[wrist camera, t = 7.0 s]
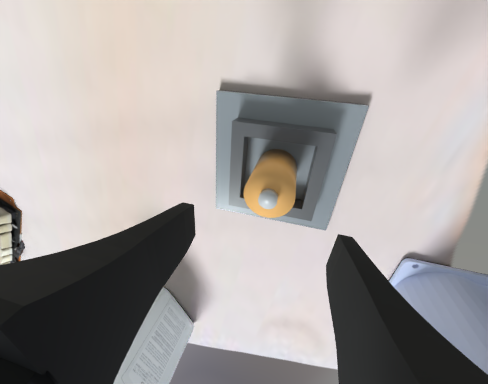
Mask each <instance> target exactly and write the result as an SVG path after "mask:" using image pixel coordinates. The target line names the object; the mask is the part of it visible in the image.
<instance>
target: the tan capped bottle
mask: <svg viewBox="0 0 488 384" xmlns="http://www.w3.org/2000/svg"><path fill="white" fill-rule="evenodd" d="M296 176H297V164H296V161H295V159H294V157H293V156H292V155H291V154H290V153H288V152H287V151H285V150H282V149H272V150H269V151H266V152H265V153H264V154H262V156H261V157H260V158H259V160H258V162H257V164H256V166H255V168H254V170H253V172H252V174H251V176H250V178H249V179H248V181H247V183H246V185H245V188H244V199H245V202H246V204H247V206H248V207H249V208H250V209H251V210H252V211H253V212H254V213H256V214H258V215H260V216H262V217H267V218H276V217H280V216H283V215H285V214H286V213H288V212H289V211H290V210H291V209H292V207H293V205H294V203H295V196H296Z"/></svg>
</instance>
